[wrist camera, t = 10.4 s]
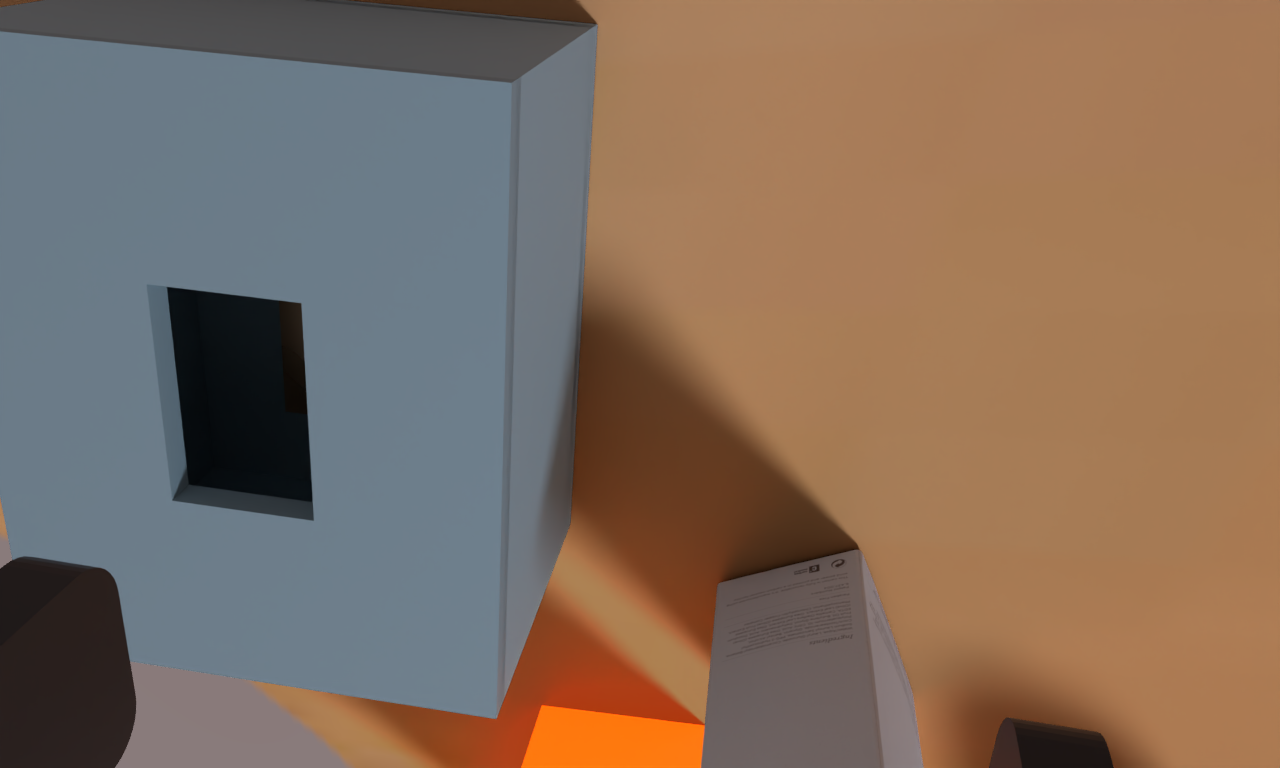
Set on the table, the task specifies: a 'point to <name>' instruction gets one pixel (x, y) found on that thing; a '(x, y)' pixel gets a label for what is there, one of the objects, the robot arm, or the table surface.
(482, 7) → the table surface
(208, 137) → the box
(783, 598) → the skincare box
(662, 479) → the table surface
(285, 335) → the brown rectangular block
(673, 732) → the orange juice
